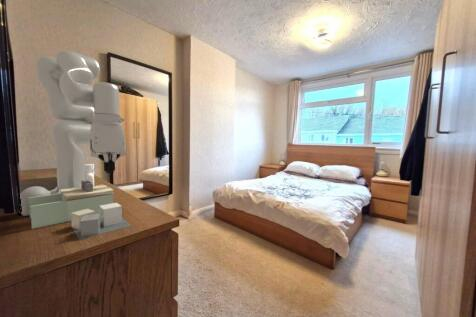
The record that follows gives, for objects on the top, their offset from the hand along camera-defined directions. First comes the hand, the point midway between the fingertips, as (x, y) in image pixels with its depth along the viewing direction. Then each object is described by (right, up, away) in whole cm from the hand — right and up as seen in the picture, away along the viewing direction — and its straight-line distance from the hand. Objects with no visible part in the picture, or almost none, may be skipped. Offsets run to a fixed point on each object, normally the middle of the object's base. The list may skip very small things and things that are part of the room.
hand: (109, 172), depth 72 cm
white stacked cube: (+8, -14, -12) cm, 20 cm away
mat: (+7, -14, -14) cm, 21 cm away
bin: (-8, -13, -6) cm, 17 cm away
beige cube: (+2, -14, -15) cm, 20 cm away
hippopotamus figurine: (-20, -13, -3) cm, 24 cm away
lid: (-5, -6, -4) cm, 9 cm away
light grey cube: (+7, -14, -18) cm, 24 cm away
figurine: (-12, -12, +8) cm, 19 cm away
